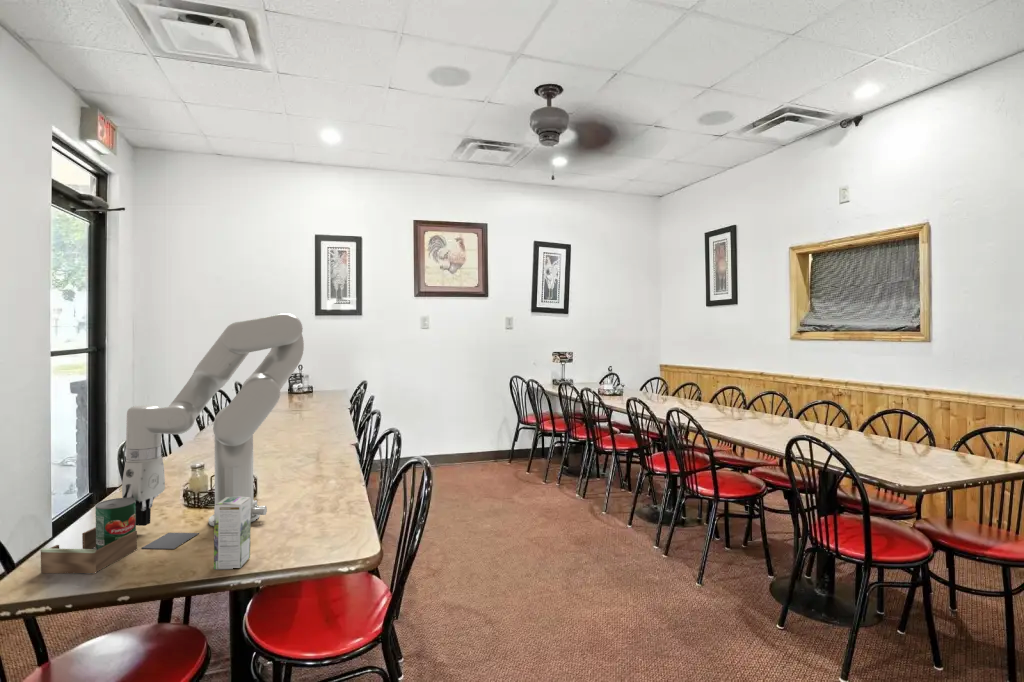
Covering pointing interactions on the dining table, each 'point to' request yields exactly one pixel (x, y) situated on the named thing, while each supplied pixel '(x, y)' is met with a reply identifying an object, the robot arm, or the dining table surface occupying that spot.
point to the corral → (86, 554)
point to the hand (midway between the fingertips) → (142, 524)
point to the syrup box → (232, 532)
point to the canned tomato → (114, 520)
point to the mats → (170, 541)
